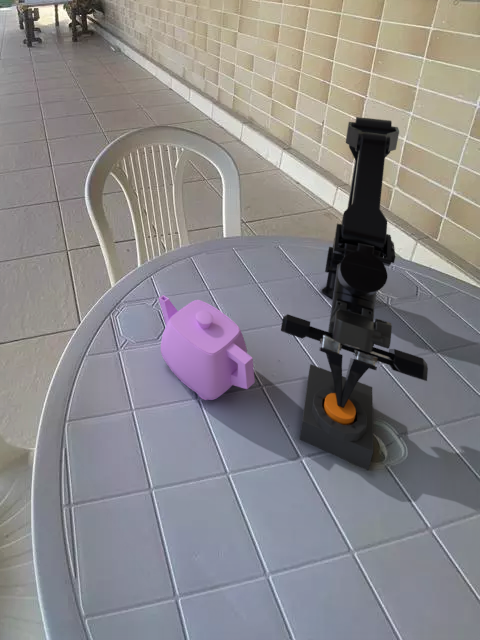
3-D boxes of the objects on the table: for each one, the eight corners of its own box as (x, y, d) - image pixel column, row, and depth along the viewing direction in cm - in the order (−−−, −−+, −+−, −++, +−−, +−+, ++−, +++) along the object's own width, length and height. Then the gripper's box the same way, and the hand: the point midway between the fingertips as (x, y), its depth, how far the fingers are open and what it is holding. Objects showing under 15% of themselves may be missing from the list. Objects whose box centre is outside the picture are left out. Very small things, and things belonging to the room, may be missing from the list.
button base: (307, 381, 74) (311, 356, 71) (367, 405, 69) (374, 378, 67) (299, 442, 65) (303, 415, 62) (368, 474, 60) (375, 446, 58)
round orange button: (323, 400, 66) (326, 388, 65) (353, 411, 64) (356, 400, 63) (321, 422, 63) (324, 411, 62) (352, 436, 61) (355, 424, 60)
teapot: (270, 387, 73) (277, 332, 68) (225, 435, 66) (229, 377, 62) (182, 319, 88) (183, 269, 84) (138, 352, 81) (136, 300, 77)
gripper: (288, 273, 65) (269, 383, 60) (441, 316, 56) (433, 449, 51) (290, 282, 74) (274, 378, 69) (422, 320, 65) (413, 434, 60)
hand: (340, 406), depth 62 cm, fingers closed, pressing on round orange button
